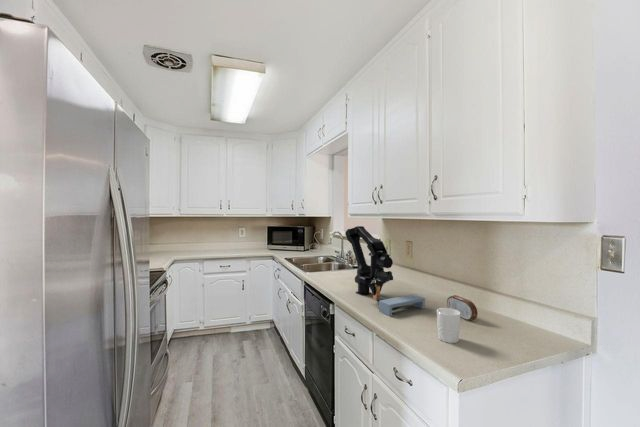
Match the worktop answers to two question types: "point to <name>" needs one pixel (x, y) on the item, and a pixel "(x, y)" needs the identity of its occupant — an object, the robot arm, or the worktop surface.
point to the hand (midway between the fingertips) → (376, 294)
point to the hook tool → (378, 294)
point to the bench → (400, 303)
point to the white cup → (448, 324)
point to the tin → (463, 307)
